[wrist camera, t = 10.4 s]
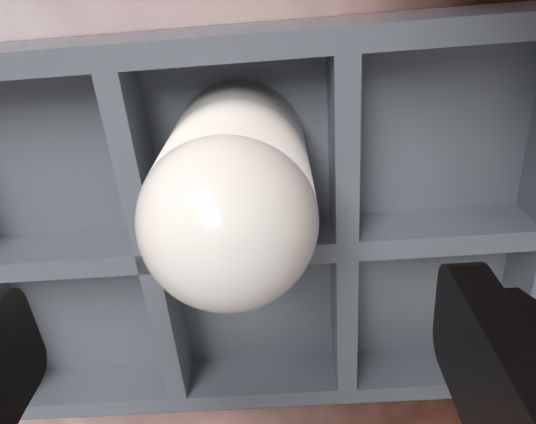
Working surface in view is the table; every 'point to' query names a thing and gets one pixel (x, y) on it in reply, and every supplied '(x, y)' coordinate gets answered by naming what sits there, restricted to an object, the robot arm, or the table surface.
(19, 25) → the table surface
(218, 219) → the egg
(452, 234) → the egg tray
